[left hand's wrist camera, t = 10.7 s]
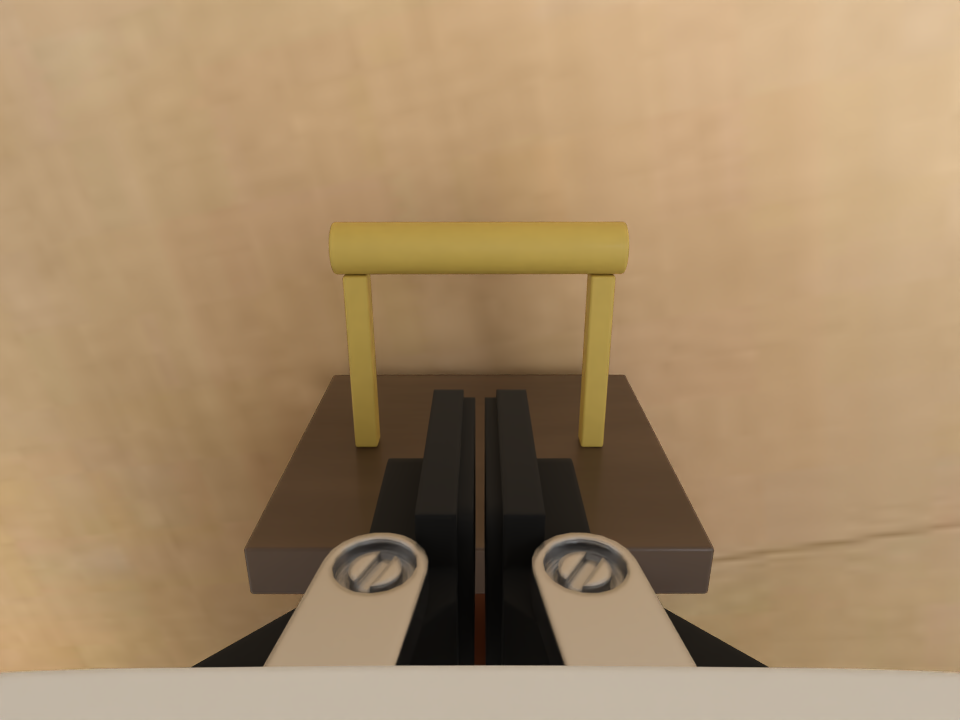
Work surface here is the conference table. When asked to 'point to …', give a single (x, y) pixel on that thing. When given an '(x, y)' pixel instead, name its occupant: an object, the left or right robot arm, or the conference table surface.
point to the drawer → (478, 413)
